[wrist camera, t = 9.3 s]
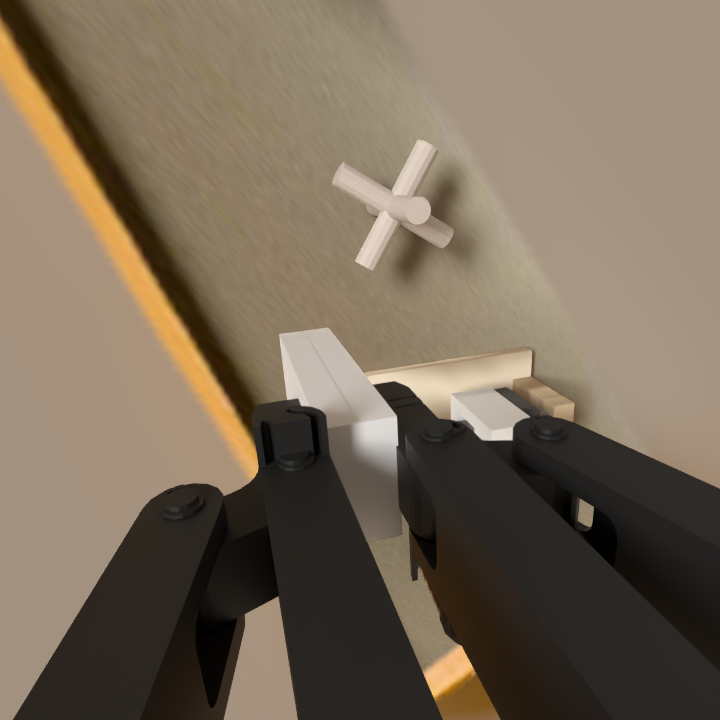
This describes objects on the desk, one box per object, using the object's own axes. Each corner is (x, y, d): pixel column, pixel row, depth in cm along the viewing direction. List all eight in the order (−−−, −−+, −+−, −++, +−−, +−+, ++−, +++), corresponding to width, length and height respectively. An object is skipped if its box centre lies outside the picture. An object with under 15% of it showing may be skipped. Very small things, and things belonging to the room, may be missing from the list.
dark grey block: (491, 389, 49) (523, 414, 44) (506, 386, 49) (540, 410, 44) (490, 442, 51) (521, 472, 46) (505, 439, 51) (537, 468, 46)
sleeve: (450, 393, 48) (491, 430, 41) (490, 386, 49) (537, 422, 42) (451, 451, 50) (490, 495, 43) (489, 443, 51) (533, 486, 44)
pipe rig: (333, 377, 48) (354, 412, 41) (526, 347, 53) (576, 373, 45) (341, 470, 52) (362, 518, 44) (522, 435, 56) (568, 473, 49)
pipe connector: (451, 180, 45) (511, 180, 36) (396, 282, 47) (440, 307, 38) (353, 116, 42) (392, 98, 33) (297, 229, 43) (319, 242, 34)
